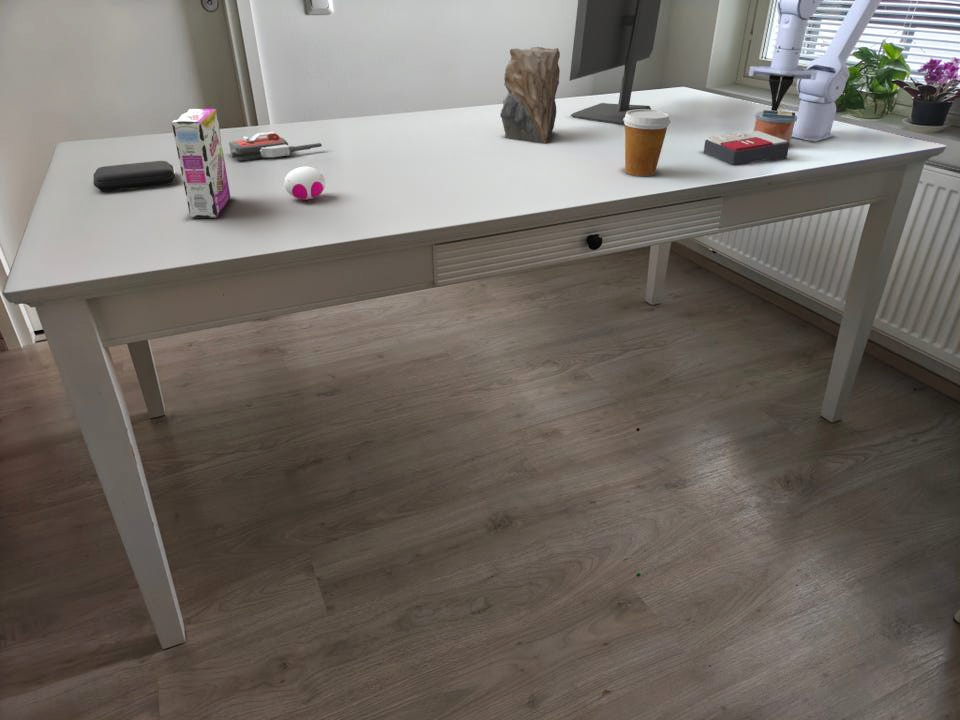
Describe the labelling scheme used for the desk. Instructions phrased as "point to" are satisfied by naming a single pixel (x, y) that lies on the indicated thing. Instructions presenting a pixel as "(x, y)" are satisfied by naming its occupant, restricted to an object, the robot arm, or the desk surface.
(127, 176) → the carrying case
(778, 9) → the robot arm
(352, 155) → the desk surface
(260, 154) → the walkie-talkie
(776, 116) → the tumbler
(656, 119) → the disposable coffee cup
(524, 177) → the desk surface
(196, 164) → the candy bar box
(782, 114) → the lid slider
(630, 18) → the computer monitor
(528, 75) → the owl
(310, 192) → the stress ball
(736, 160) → the dark grey flat box
